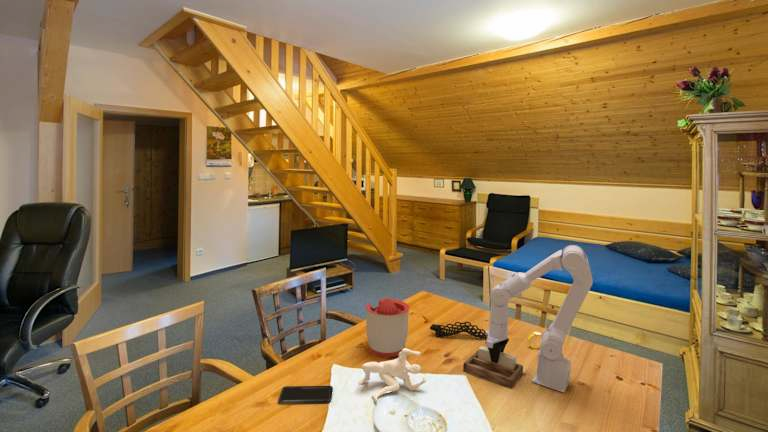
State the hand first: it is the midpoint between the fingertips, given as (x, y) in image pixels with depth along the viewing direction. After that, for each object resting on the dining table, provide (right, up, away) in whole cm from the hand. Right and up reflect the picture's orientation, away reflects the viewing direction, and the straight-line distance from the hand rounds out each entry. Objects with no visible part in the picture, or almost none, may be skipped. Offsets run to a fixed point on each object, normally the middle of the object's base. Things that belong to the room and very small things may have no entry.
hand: (496, 360), depth 131 cm
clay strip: (0, -2, 0) cm, 2 cm away
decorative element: (-8, 0, +25) cm, 26 cm away
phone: (-60, -5, -16) cm, 63 cm away
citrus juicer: (-37, -1, +13) cm, 39 cm away
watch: (+20, -2, +16) cm, 25 cm away
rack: (-2, -3, -2) cm, 4 cm away
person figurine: (-35, -5, -11) cm, 37 cm away
